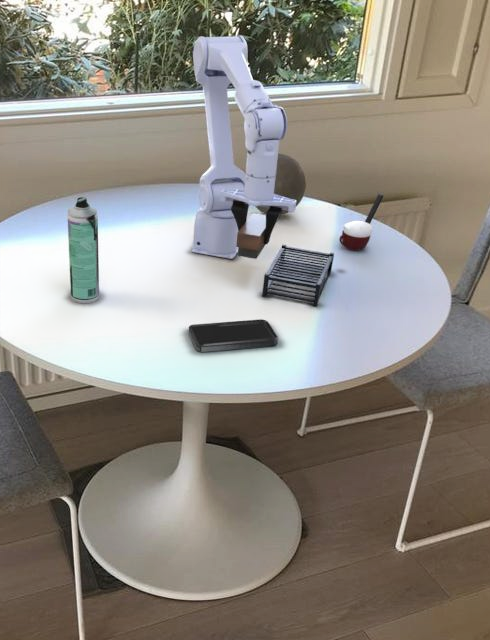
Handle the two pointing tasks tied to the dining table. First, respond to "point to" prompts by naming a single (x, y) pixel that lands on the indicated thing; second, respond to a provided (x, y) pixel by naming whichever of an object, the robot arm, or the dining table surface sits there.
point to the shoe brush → (252, 236)
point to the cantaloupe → (288, 181)
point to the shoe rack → (317, 284)
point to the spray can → (83, 252)
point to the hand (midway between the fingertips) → (254, 240)
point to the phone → (232, 335)
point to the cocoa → (359, 230)
